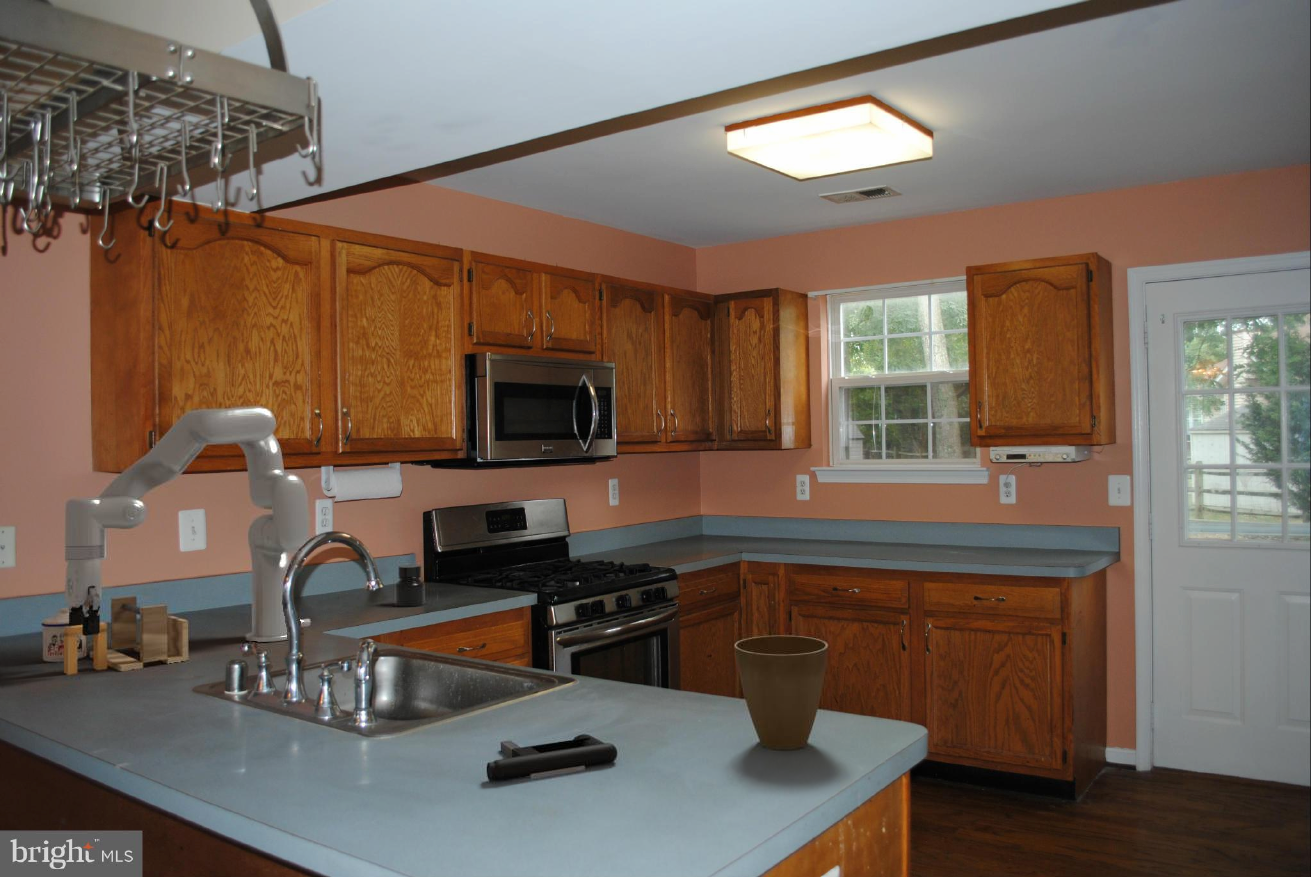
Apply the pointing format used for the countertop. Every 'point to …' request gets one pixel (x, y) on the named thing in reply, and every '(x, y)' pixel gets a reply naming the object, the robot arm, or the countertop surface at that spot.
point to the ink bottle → (409, 587)
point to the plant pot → (782, 686)
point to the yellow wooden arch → (71, 648)
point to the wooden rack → (145, 634)
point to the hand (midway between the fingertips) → (84, 631)
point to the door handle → (550, 758)
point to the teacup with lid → (59, 638)
